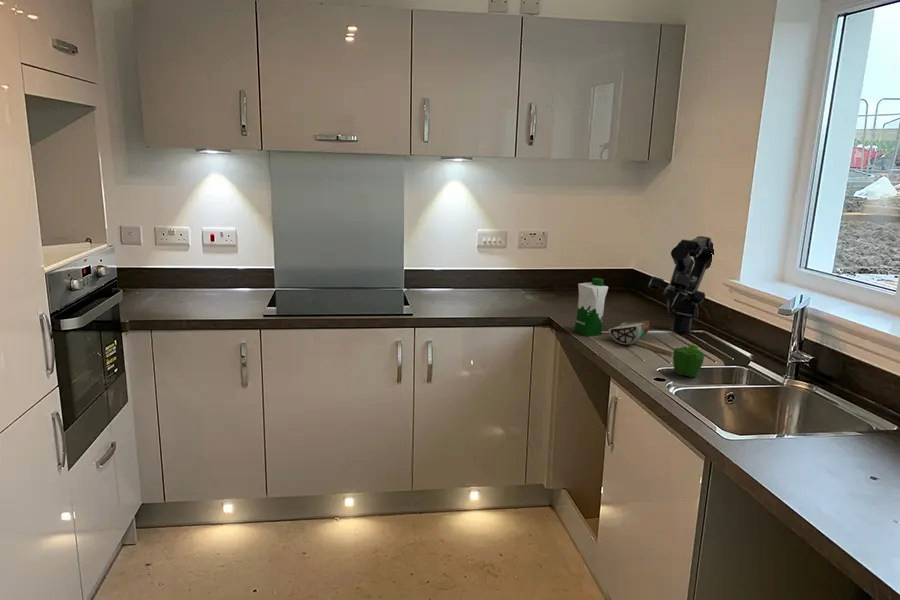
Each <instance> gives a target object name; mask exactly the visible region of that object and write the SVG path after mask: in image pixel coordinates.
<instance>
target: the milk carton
mask: <svg viewBox="0 0 900 600" xmlns="http://www.w3.org/2000/svg"><path fill="white" fill-rule="evenodd" d="M591 280H592V281H591V282H583V283H578V284H577V287H578V303H577V312H576V319H575V325H574V328H573V330H574V332H575V333H578V334H580V335H583V336H585V337H593V336H602V330H603V318H604V317H603V316H604V310H605V301H606V296H607V293H608V290H609V286H607V285H605V284H604V283H605V282H604V280H605V279H603V278H600V277H593V278H592V279H591Z"/></svg>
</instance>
